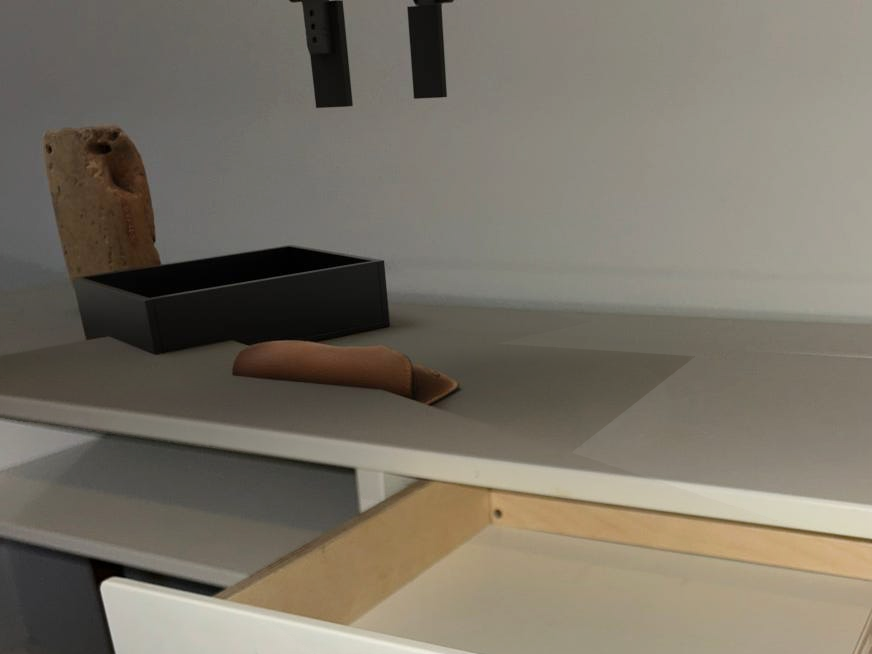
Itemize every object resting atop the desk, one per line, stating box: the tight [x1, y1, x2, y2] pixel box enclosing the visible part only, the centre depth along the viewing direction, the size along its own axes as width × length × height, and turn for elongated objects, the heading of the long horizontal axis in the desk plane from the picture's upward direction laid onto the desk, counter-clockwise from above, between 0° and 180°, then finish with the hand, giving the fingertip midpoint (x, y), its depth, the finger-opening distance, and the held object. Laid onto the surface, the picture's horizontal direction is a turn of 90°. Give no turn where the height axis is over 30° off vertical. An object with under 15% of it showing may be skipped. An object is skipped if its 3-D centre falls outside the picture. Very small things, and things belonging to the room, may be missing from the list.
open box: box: [72, 244, 391, 356], centre depth 111 cm, size 26×20×7 cm
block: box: [42, 124, 162, 291], centre depth 123 cm, size 11×8×20 cm
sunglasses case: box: [231, 340, 460, 406], centre depth 89 cm, size 18×7×7 cm, turn 63°
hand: (385, 102), depth 82 cm, fingers open, 13 cm apart
